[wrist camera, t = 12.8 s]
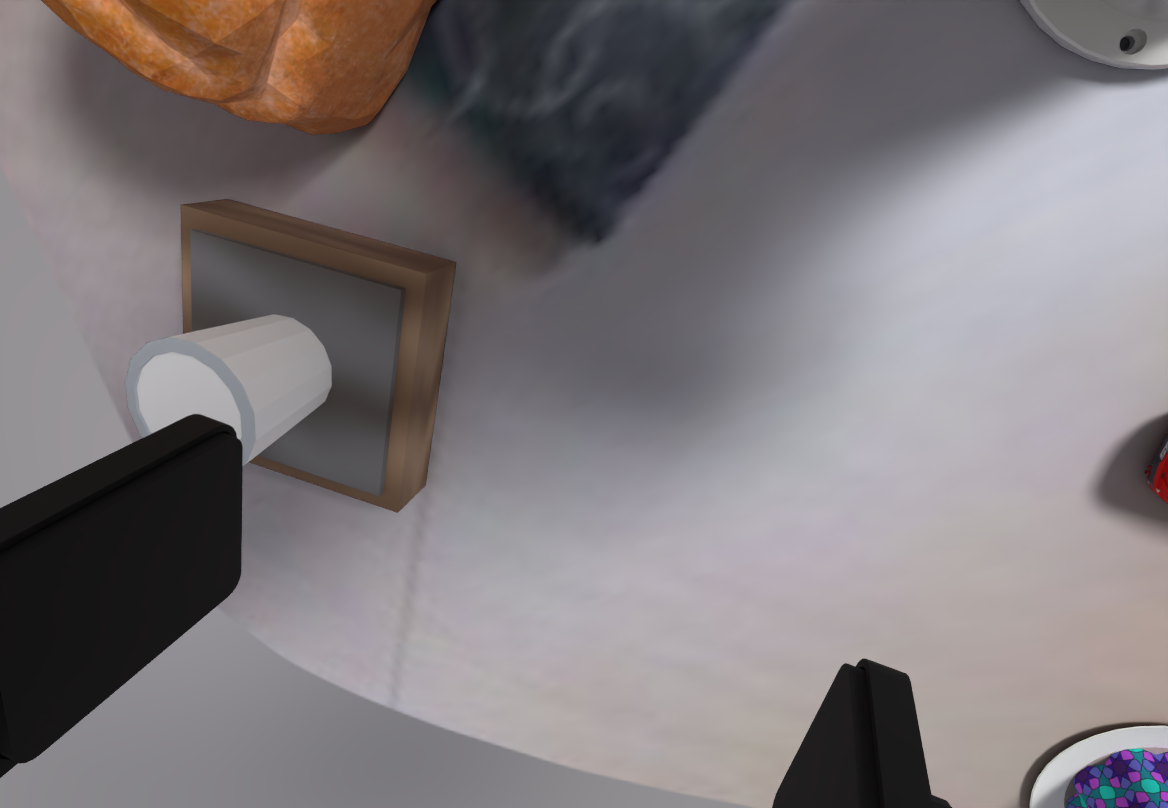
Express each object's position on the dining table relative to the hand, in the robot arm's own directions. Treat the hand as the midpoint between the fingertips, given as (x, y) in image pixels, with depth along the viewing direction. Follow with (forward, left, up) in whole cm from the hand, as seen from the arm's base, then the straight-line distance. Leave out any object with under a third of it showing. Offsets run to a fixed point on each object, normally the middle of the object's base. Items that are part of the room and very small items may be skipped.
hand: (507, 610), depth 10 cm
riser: (+10, -20, -27) cm, 35 cm away
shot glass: (+10, -20, -23) cm, 32 cm away
